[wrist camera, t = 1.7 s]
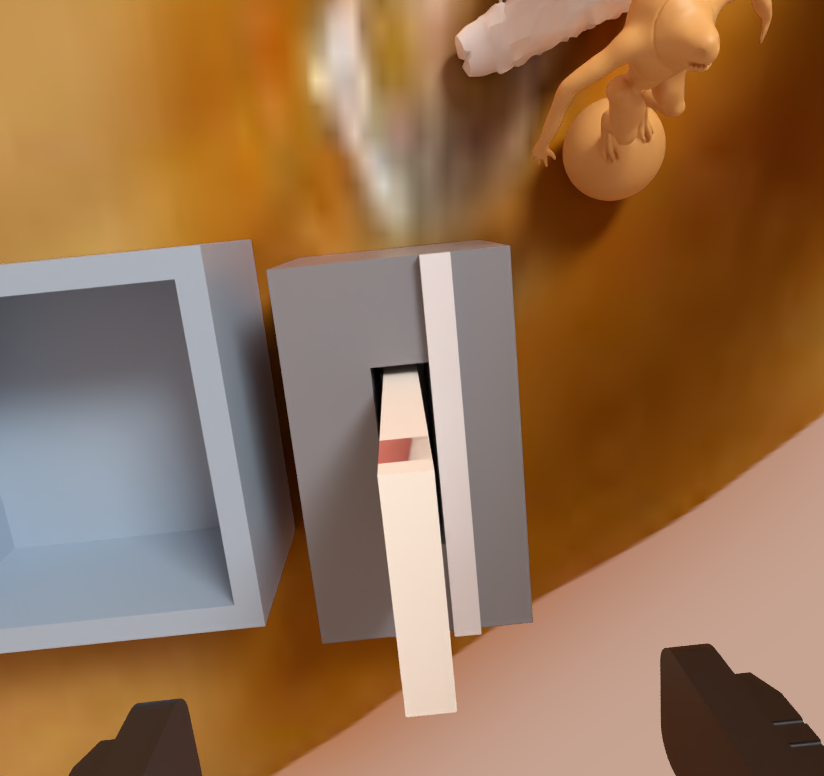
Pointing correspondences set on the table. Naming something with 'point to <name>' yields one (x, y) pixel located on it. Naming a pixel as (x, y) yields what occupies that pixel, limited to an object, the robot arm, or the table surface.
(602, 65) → the figurine
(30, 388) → the bin
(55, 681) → the table surface
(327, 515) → the dispenser
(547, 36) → the white creature statuette
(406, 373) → the ticket
